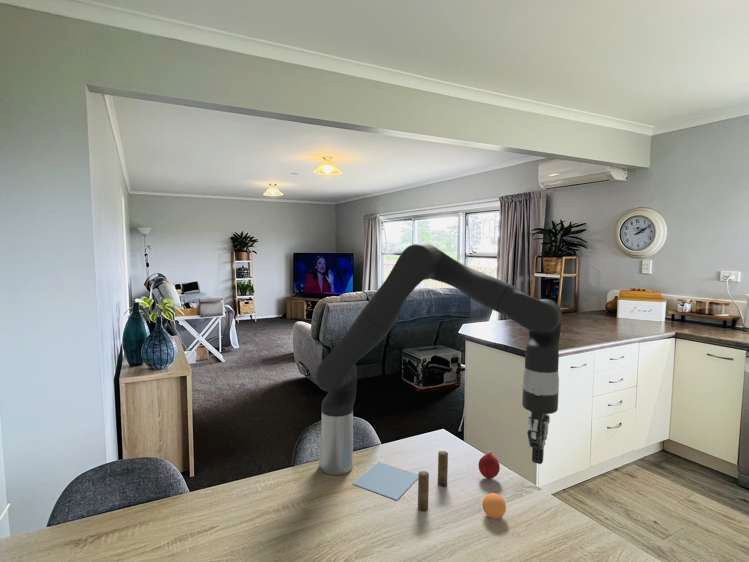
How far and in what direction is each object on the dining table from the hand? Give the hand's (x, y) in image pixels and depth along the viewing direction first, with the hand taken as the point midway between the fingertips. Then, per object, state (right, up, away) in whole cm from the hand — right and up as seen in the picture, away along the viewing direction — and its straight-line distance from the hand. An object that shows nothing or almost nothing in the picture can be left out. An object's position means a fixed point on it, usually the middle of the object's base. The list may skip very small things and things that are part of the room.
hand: (537, 461), depth 96 cm
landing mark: (-34, -15, +22) cm, 43 cm away
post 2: (-19, -15, +20) cm, 31 cm away
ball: (-8, -13, +6) cm, 17 cm away
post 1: (-25, -16, +9) cm, 31 cm away
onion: (-5, -15, +23) cm, 28 cm away
